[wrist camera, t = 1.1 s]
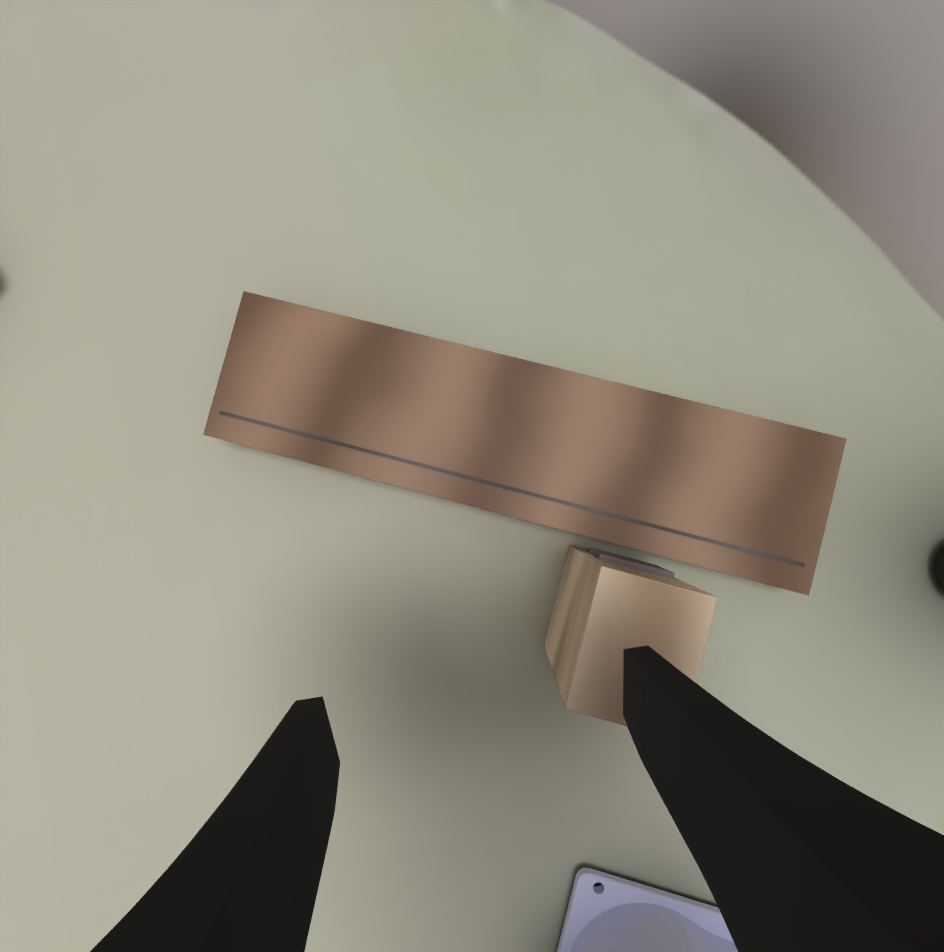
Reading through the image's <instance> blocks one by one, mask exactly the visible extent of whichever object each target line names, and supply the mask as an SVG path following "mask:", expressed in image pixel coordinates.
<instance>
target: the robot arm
mask: <svg viewBox="0 0 944 952" xmlns="http://www.w3.org/2000/svg"><path fill="white" fill-rule="evenodd" d="M623 716H624V719H625V721H626V724H627V726H628V729H629V731H630V734H631V736H632V739H633V741H634V744H635V746H636V748H637V751H638V753H639V755H640V758H641V760H642V762H643V764H644V766H645V768H646V770H647V772H648V773H649V775H650V777H651V779H652V781H653V783H654V785H655V787H656V788H657V790H658V792H659V794H660V796H661V798H662V800H663V802H664V803H665V805H666V807H667V809H668V811H669V813H670V814H671V816H672V818H673V820H674V822H675V824H676V826H677V827H678V829H679V831H680V833H681V835H682V837H683V839H684V840H685V842H686V844H687V846H688V848H689V850H690V851H691V853H692V855H693V857H694V859H695V861H696V863H697V864H698V866H699V868H700V870H701V872H702V874H703V876H704V878H705V880H706V882H707V884H708V886H709V888H710V890H711V892H712V894H713V897H714V899H715V901H716V903H717V906H718V907H715V906H711V905H708V904H705V903H702V902H698V901H695V900H692V899H689V898H685V897H682V896H679V895H676V894H672V893H669V892H666V891H663V890H659V889H656V888H653V887H650V886H646V885H643V884H640V883H637V882H633V881H630V880H627V879H624V878H620V877H617V876H614V875H611V874H607V873H604V872H601V871H598V870H594V869H591V868H581V869H580V870H579V871H578V872H577V874H576V877H575V881H574V885H573V889H572V893H571V897H570V901H569V905H568V909H567V913H566V917H565V921H564V925H563V929H562V933H561V937H560V941H559V945H558V949H557V952H944V835H942V834H940V833H938V832H936V831H934V830H932V829H930V828H928V827H926V826H924V825H922V824H920V823H918V822H916V821H914V820H912V819H910V818H908V817H906V816H905V815H903V814H901V813H899V812H897V811H895V810H893V809H891V808H889V807H888V806H886V805H884V804H882V803H880V802H878V801H876V800H874V799H873V798H871V797H869V796H867V795H865V794H863V793H862V792H860V791H858V790H856V789H854V788H853V787H851V786H849V785H847V784H846V783H844V782H842V781H840V780H839V779H837V778H835V777H834V776H832V775H830V774H829V773H827V772H825V771H824V770H822V769H820V768H819V767H817V766H815V765H814V764H812V763H810V762H809V761H807V760H805V759H804V758H802V757H801V756H799V755H797V754H796V753H794V752H793V751H791V750H789V749H788V748H786V747H785V746H783V745H782V744H780V743H779V742H777V741H776V740H774V739H773V738H771V737H770V736H768V735H767V734H765V733H764V732H762V731H761V730H760V729H758V728H757V727H755V726H754V725H752V724H751V723H749V722H748V721H746V720H745V719H744V718H742V717H741V716H739V715H738V714H737V713H735V712H734V711H732V710H731V709H730V708H728V707H727V706H726V705H724V704H723V703H722V702H720V701H719V700H718V699H716V698H715V697H714V696H712V695H711V694H710V693H708V692H707V691H706V690H704V689H703V688H702V687H700V686H699V685H698V684H696V683H695V682H694V681H693V680H691V679H690V678H689V677H688V676H686V675H685V674H684V673H682V672H681V671H680V670H679V669H677V668H676V667H675V666H674V665H672V664H671V663H670V662H668V661H667V660H666V659H665V658H663V657H662V656H661V655H660V654H658V653H657V652H656V651H655V650H653V649H652V648H651V647H649V646H648V645H647V646H641V647H634V648H628V649H623ZM339 767H340V760H339V756H338V753H337V749H336V745H335V741H334V738H333V734H332V730H331V726H330V722H329V719H328V715H327V711H326V707H325V704H324V700H323V697H317V698H311V699H304V700H298V701H296V702H295V703H294V704H293V705H292V707H291V708H290V709H289V711H288V712H287V713H286V715H285V716H284V718H283V719H282V721H281V722H280V723H279V725H278V726H277V728H276V729H275V731H274V732H273V733H272V735H271V736H270V738H269V739H268V740H267V742H266V743H265V745H264V746H263V747H262V749H261V750H260V752H259V753H258V754H257V756H256V757H255V759H254V760H253V761H252V763H251V764H250V765H249V767H248V768H247V769H246V771H245V772H244V774H243V775H242V776H241V778H240V779H239V780H238V782H237V783H236V784H235V786H234V787H233V788H232V790H231V791H230V792H229V794H228V795H227V796H226V798H225V799H224V800H223V802H222V803H221V804H220V805H219V807H218V808H217V809H216V810H215V812H214V813H213V814H212V815H211V817H210V818H209V819H208V820H207V822H206V823H205V824H204V825H203V827H202V828H201V829H200V830H199V832H198V833H197V834H196V835H195V837H194V838H193V839H192V840H191V842H190V843H189V844H188V845H187V846H186V848H185V849H184V850H183V851H182V852H181V853H180V855H179V856H178V857H177V858H176V859H175V861H174V862H173V863H172V864H171V865H170V866H169V868H168V869H167V870H166V871H165V872H164V873H163V874H162V876H161V877H160V878H159V879H158V880H157V881H156V882H155V883H154V885H153V886H152V887H151V888H150V889H149V890H148V891H147V892H146V894H145V895H144V896H143V897H142V898H141V899H140V900H139V901H138V902H137V903H136V905H135V906H134V907H133V908H132V909H131V910H130V911H129V912H128V913H127V914H126V915H125V916H124V917H123V918H122V919H121V921H120V922H119V923H118V924H117V925H116V926H115V927H114V928H113V929H112V930H111V931H110V932H109V933H108V934H107V935H106V936H105V937H104V938H103V939H102V940H101V941H100V942H99V943H98V944H97V945H96V946H95V947H94V948H93V949H92V950H91V951H90V952H304V951H305V946H306V941H307V936H308V932H309V927H310V923H311V918H312V914H313V909H314V905H315V900H316V895H317V891H318V886H319V882H320V877H321V873H322V868H323V864H324V859H325V854H326V850H327V845H328V840H329V836H330V831H331V827H332V822H333V817H334V811H335V803H336V795H337V786H338V777H339ZM597 882H600V883H602V884H601V885H600V886H598V887H595V886H594V884H595V883H597Z"/></svg>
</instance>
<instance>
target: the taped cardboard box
mask: <svg viewBox="0 0 944 952" xmlns="http://www.w3.org/2000/svg"><path fill="white" fill-rule="evenodd" d="M674 575H675V573H673V572H671V571H668V570H666V569H664V568H661V567H659V566H657V565H653V564H649V563H646V562H642V561H638V560H634V559H631V558H627V557H623V556H619V555H616V554H612V553H608V552H604V551H601V550H597V549H593V548H589V550H586V549H582V548H579V547H575V546H571V545H570V546H569V550H568V554H567V558H566V562H565V566H564V570H563V574H562V577H561V581H560V585H559V589H558V593H557V597H556V601H555V605H554V609H553V613H552V617H551V620H550V624H549V628H548V632H547V636H546V640H545V644H544V646H545V649H546V652H547V655H548V658H549V661H550V664H551V667H552V670H553V673H554V676H555V679H556V682H557V684H558V687H559V690H560V693H561V696H562V699H563V702H564V705H565V708H566V709H569V710H572V711H576V712H579V713H583V714H586V715H590V716H593V717H597V718H600V719H604V720H607V721H611V722H614V723H618V724H621V725H624V726H627V724H626V721H625V719H624V716H623V649H628V648H634V647H641V646H647V645H648V646H649V647H651V648H652V649H653V650H655V651H656V652H657V653H658V654H660V655H661V656H662V657H663V658H665V659H666V660H667V661H668V662H670V663H671V664H672V665H674V666H675V667H676V668H677V669H679V670H680V671H681V672H682V673H684V674H685V675H686V676H688V677H689V678H690V679H691V680H693V681H694V682H695V683H696V682H697V678H698V674H699V670H700V666H701V662H702V658H703V654H704V650H705V646H706V642H707V637H708V633H709V629H710V625H711V621H712V617H713V613H714V609H715V605H716V601H717V597H716V596H713V595H711V594H709V593H707V592H705V591H703V590H700V589H698V588H696V587H694V586H692V585H689V584H687V583H685V582H683V581H681V580H679V579H676V578H674Z"/></svg>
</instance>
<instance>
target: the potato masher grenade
mask: <svg viewBox="0 0 944 952" xmlns="http://www.w3.org/2000/svg"><path fill="white" fill-rule="evenodd" d="M935 574H936V577H937V581H938V584H939V585H940V586H941V588H942V589H943V591H944V546H943V547H942V548H941V550H940V552H939V554H938V556H937V558H936V563H935Z"/></svg>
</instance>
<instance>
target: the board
mask: <svg viewBox="0 0 944 952" xmlns="http://www.w3.org/2000/svg"><path fill="white" fill-rule="evenodd" d="M203 435H206V436H210V437H214V438H218V439H222V440H225V441H229V442H233V443H237V444H240V445H244V446H248V447H252V448H255V449H259V450H263V451H267V452H271V453H274V454H278V455H282V456H286V457H289V458H293V459H297V460H301V461H304V462H308V463H312V464H316V465H320V466H323V467H327V468H331V469H335V470H338V471H342V472H346V473H350V474H353V475H357V476H361V477H365V478H368V479H372V480H376V481H380V482H384V483H387V484H391V485H395V486H399V487H402V488H406V489H410V490H414V491H417V492H421V493H425V494H429V495H433V496H436V497H440V498H444V499H448V500H451V501H455V502H459V503H463V504H466V505H470V506H474V507H478V508H482V509H485V510H489V511H493V512H497V513H500V514H504V515H508V516H512V517H515V518H519V519H523V520H527V521H530V522H534V523H538V524H542V525H546V526H549V527H553V528H557V529H561V530H564V531H568V532H572V533H576V534H579V535H583V536H587V537H591V538H595V539H598V540H602V541H606V542H610V543H613V544H617V545H621V546H625V547H628V548H632V549H636V550H640V551H644V552H647V553H651V554H655V555H659V556H662V557H666V558H670V559H674V560H677V561H681V562H685V563H689V564H693V565H696V566H700V567H704V568H708V569H711V570H715V571H719V572H723V573H726V574H730V575H734V576H738V577H741V578H745V579H749V580H753V581H757V582H760V583H764V584H768V585H772V586H775V587H779V588H783V589H787V590H790V591H794V592H798V593H802V594H806V595H809V592H810V588H811V584H812V580H813V576H814V572H815V567H816V563H817V559H818V555H819V551H820V547H821V542H822V538H823V534H824V530H825V526H826V522H827V517H828V513H829V509H830V505H831V501H832V497H833V492H834V488H835V484H836V480H837V476H838V472H839V467H840V463H841V459H842V455H843V451H844V447H845V442H846V439H845V438H841V437H837V436H833V435H829V434H825V433H821V432H817V431H813V430H809V429H804V428H800V427H796V426H792V425H788V424H784V423H780V422H776V421H772V420H768V419H764V418H759V417H755V416H751V415H747V414H743V413H739V412H735V411H731V410H727V409H723V408H719V407H715V406H710V405H706V404H702V403H698V402H694V401H690V400H686V399H682V398H678V397H674V396H670V395H666V394H661V393H657V392H653V391H649V390H645V389H641V388H637V387H633V386H629V385H625V384H621V383H616V382H612V381H608V380H604V379H600V378H596V377H592V376H588V375H584V374H580V373H576V372H572V371H567V370H563V369H559V368H555V367H551V366H547V365H543V364H539V363H535V362H531V361H527V360H523V359H518V358H514V357H510V356H506V355H502V354H498V353H494V352H490V351H486V350H482V349H478V348H473V347H469V346H465V345H461V344H457V343H453V342H449V341H445V340H441V339H437V338H433V337H429V336H424V335H420V334H416V333H412V332H408V331H404V330H400V329H396V328H392V327H388V326H384V325H380V324H375V323H371V322H367V321H363V320H359V319H355V318H351V317H347V316H343V315H339V314H335V313H330V312H326V311H322V310H318V309H314V308H310V307H306V306H302V305H298V304H294V303H290V302H286V301H281V300H277V299H273V298H269V297H265V296H261V295H257V294H253V293H249V292H245V291H244V292H243V295H242V299H241V302H240V306H239V310H238V313H237V317H236V320H235V324H234V327H233V331H232V334H231V338H230V342H229V345H228V349H227V352H226V356H225V359H224V363H223V366H222V370H221V374H220V377H219V381H218V384H217V388H216V391H215V395H214V398H213V402H212V406H211V409H210V413H209V416H208V420H207V423H206V427H205V431H204V434H203Z"/></svg>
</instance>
